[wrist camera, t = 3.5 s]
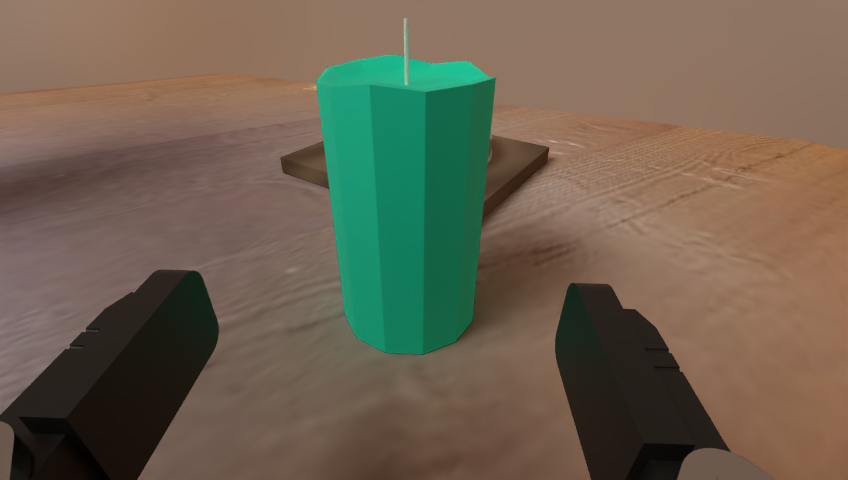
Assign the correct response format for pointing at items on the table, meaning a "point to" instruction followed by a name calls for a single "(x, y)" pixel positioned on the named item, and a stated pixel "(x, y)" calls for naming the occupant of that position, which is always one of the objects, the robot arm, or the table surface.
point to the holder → (503, 176)
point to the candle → (407, 194)
